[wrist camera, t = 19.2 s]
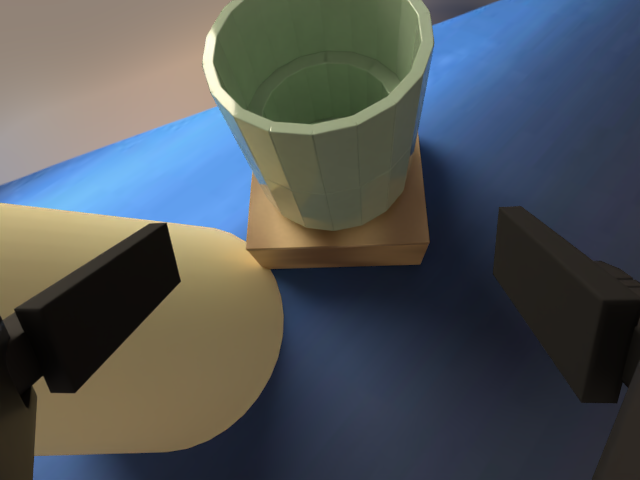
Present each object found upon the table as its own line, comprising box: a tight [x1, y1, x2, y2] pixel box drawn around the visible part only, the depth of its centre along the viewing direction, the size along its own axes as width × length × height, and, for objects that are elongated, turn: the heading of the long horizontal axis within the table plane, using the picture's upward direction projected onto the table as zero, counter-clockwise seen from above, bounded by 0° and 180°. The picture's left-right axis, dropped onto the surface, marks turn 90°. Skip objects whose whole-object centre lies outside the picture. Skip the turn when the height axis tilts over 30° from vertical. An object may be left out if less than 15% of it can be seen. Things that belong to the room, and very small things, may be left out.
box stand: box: [246, 133, 430, 269], centre depth 31 cm, size 13×13×5 cm
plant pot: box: [202, 0, 434, 231], centre depth 24 cm, size 11×11×12 cm
